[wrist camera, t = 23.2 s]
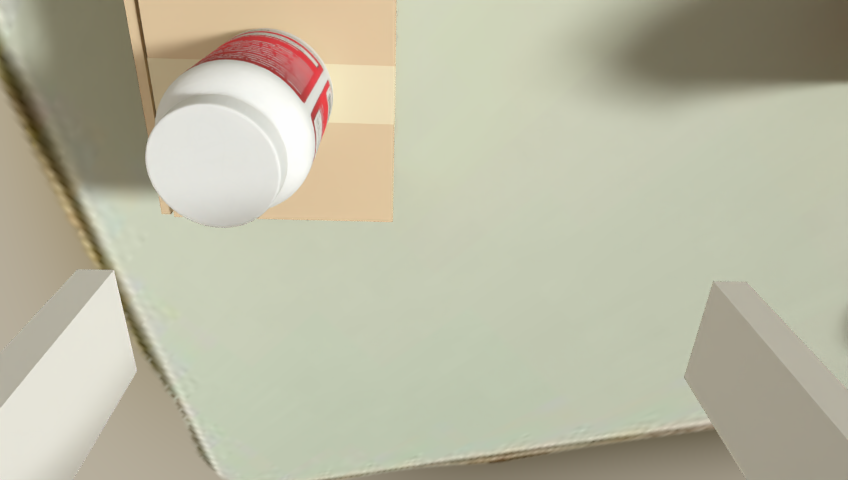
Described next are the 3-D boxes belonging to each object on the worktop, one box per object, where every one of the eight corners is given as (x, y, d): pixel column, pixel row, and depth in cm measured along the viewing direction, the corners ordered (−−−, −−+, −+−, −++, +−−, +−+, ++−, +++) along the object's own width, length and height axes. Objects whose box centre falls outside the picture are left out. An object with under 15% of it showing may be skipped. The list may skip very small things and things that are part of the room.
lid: (124, -74, 29) (107, -73, 27) (398, -62, 30) (397, -61, 28) (171, 202, 36) (159, 216, 34) (393, 207, 36) (392, 222, 35)
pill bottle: (190, 50, 30) (85, 114, 20) (305, 7, 29) (253, 53, 19) (246, 162, 33) (177, 267, 23) (353, 127, 32) (329, 219, 22)
